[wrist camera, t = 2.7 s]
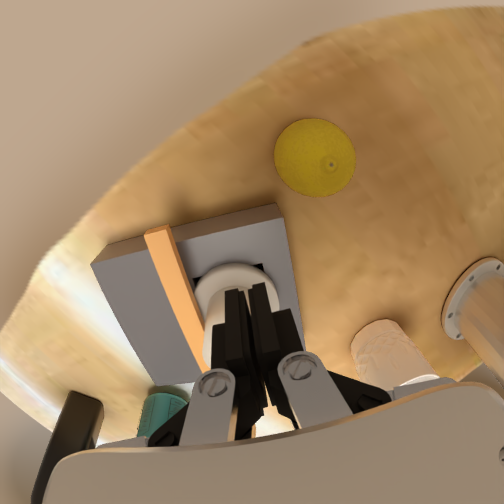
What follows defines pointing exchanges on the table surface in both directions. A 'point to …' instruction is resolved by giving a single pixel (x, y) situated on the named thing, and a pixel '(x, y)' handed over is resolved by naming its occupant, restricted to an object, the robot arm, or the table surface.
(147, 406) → the beverage bottle
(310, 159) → the lemon
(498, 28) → the table surface
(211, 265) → the dock
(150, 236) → the hammer
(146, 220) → the table surface
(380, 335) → the white cup
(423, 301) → the table surface
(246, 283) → the plug
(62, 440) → the wine bottle
